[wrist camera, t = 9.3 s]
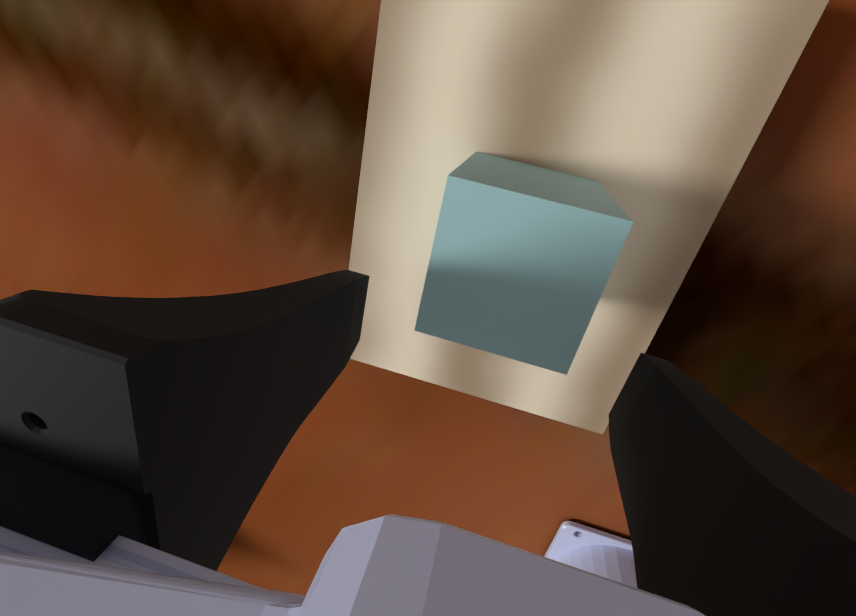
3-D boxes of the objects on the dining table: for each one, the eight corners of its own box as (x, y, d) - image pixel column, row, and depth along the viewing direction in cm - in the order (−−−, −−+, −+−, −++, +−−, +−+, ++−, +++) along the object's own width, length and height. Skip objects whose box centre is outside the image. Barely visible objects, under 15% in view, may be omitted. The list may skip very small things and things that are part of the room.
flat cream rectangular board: (780, 8, 15) (836, -13, 12) (594, 395, 22) (602, 434, 20) (415, -61, 16) (392, -93, 13) (359, 327, 24) (338, 355, 21)
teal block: (598, 181, 15) (633, 221, 10) (556, 292, 17) (566, 375, 12) (476, 151, 16) (448, 175, 10) (449, 263, 18) (414, 330, 12)
